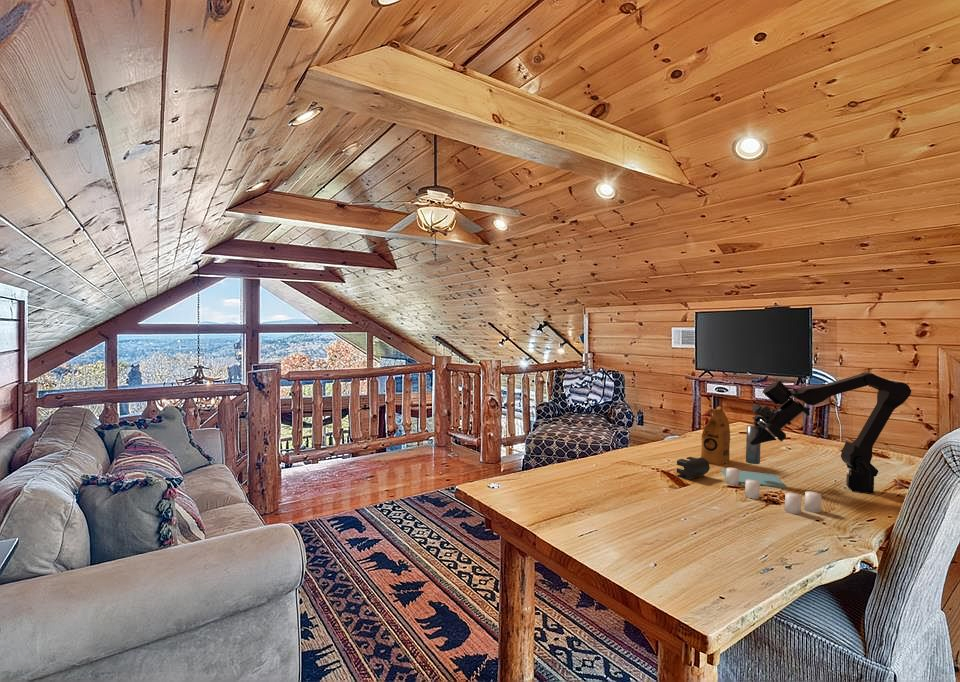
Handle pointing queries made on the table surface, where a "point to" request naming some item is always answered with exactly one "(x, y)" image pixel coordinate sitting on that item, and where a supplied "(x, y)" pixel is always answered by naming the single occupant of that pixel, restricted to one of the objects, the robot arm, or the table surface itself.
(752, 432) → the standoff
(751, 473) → the mat
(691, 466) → the end cap
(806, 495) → the spacers
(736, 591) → the table surface
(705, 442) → the coffee package
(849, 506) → the table surface
